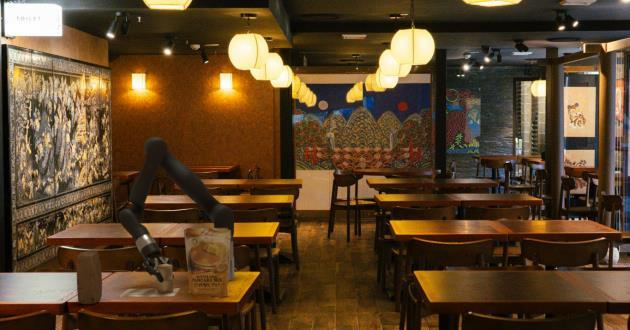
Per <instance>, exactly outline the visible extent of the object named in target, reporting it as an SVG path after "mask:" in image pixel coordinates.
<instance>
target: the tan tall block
mask: <svg viewBox="0 0 630 330" xmlns="http://www.w3.org/2000/svg"><path fill="white" fill-rule="evenodd" d="M157 267H158V270H159V273H161V275H162V277H163V279H164V281H163V282H162V283H160V282H159V281H158V279H157V278H156V288H157V292H158V293H162V294H166V293H170V292H173V288H174V279H173V275H174V274H173V271H174V270H173V269H172V265H169V264H162V265H158V266H157Z"/></svg>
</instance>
